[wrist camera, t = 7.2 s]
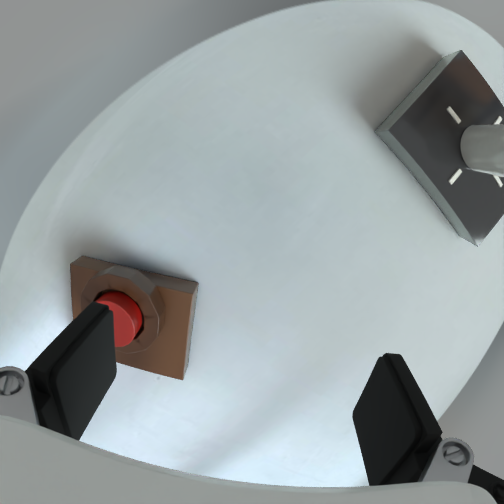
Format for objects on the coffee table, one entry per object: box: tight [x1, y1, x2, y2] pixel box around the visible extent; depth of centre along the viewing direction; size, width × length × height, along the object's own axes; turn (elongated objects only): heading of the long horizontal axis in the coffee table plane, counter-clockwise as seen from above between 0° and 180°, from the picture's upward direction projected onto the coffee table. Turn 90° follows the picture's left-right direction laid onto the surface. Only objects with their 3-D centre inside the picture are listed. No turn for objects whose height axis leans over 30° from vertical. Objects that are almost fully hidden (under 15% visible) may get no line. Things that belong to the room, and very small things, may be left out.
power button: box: [96, 291, 142, 347], centre depth 23 cm, size 4×4×2 cm
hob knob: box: [460, 124, 504, 177], centre depth 16 cm, size 4×4×6 cm
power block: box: [70, 256, 198, 380], centre depth 25 cm, size 11×10×4 cm
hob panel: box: [375, 50, 504, 246], centre depth 20 cm, size 12×10×3 cm
